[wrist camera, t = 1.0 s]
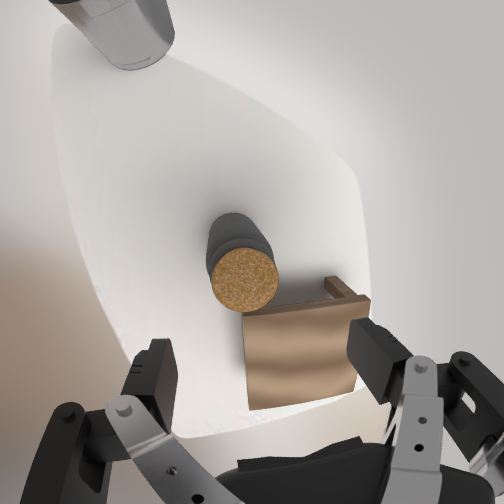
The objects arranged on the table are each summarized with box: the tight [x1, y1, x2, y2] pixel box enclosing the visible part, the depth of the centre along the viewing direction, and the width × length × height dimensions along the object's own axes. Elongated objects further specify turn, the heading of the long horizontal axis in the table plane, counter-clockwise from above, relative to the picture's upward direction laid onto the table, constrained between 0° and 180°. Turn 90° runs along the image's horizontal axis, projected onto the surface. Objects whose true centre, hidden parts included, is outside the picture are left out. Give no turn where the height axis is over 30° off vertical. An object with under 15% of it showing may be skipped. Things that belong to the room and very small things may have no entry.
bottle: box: [206, 213, 279, 312], centre depth 26 cm, size 6×6×15 cm
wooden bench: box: [241, 276, 371, 411], centre depth 33 cm, size 14×14×9 cm
